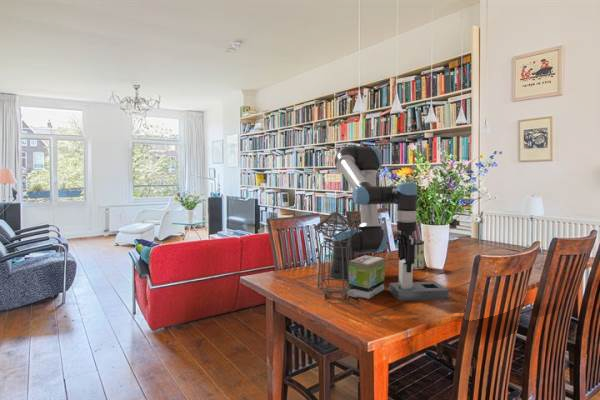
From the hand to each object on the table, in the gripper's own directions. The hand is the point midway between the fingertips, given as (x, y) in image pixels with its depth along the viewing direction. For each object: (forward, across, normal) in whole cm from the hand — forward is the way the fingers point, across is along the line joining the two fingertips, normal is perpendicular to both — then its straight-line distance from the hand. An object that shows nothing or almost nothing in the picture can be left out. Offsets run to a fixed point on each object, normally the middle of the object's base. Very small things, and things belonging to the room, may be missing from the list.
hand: (405, 277), depth 152 cm
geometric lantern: (+8, +5, +28) cm, 29 cm away
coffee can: (+9, +48, -22) cm, 53 cm away
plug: (+5, 0, 0) cm, 5 cm away
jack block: (+8, 0, -5) cm, 10 cm away
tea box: (+8, +6, +15) cm, 18 cm away
